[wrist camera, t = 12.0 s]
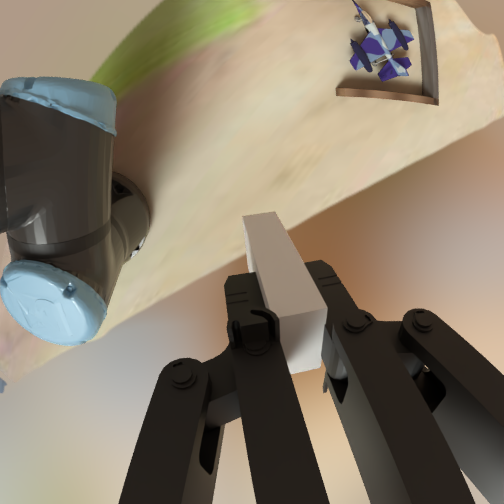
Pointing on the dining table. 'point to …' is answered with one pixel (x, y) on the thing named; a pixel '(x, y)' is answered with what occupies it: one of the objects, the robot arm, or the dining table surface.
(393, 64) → the toy airplane
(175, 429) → the robot arm
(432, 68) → the frame
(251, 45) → the dining table surface
